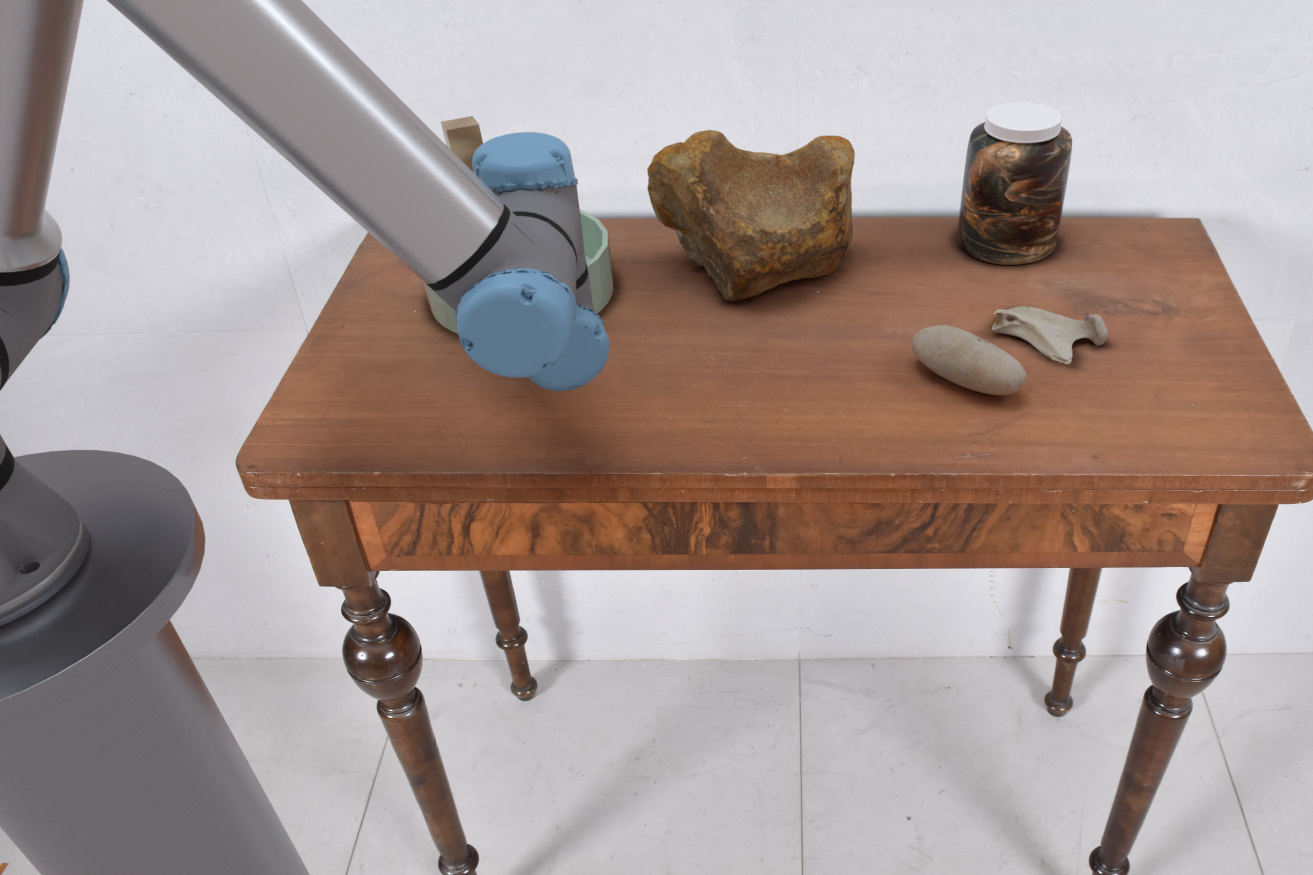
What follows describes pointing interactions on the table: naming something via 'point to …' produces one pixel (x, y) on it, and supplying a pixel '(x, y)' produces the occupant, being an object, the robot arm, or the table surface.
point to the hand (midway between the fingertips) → (466, 177)
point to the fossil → (1049, 330)
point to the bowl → (596, 264)
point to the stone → (968, 360)
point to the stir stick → (462, 138)
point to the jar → (1014, 184)
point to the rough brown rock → (756, 209)
